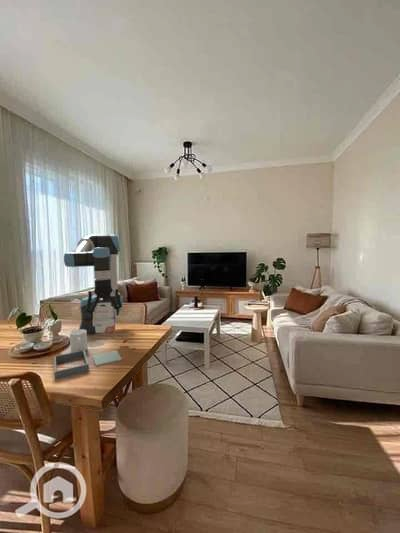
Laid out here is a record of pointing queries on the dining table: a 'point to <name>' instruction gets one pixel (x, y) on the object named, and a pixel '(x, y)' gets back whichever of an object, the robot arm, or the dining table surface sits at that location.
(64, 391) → the dining table surface
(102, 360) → the mat
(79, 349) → the mug
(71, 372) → the bin
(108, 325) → the ink cartridge box
